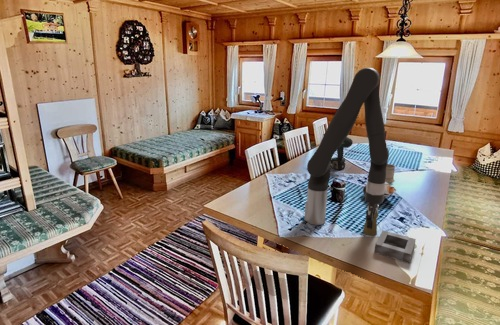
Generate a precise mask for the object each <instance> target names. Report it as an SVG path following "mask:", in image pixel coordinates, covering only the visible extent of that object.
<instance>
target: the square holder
mask: <svg viewBox="0 0 500 325" xmlns="http://www.w3.org/2000/svg"><path fill="white" fill-rule="evenodd" d="M416 239H417V238H412V237H411V236H410V237H409V236H405V235H402V234H399V233H394V232H390V231H386V230H383V229H382V231H381V232H380V234H379V236H378V239H377V241H376V242H375V244H374V245H375V246H374V251H373V252H374V253H375V254H377V255H381V256H384V257H388V258H391V259H394V260H397V261H401V262H404V263H408V264H410V263H411V259H412V256H413V253H414V250H415V245H416Z"/></svg>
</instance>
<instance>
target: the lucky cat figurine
mask: <svg viewBox="0 0 500 325" xmlns="http://www.w3.org/2000/svg"><path fill="white" fill-rule="evenodd" d="M396 192H397V189H396V188H395V186H391V185H390V183H389V182H385V191H384V199H383V201H384V200H385V199H387V198H389V197H390V196H391V195H393V194H395V193H396ZM362 193H363V195H364V196H365V194H366V185H365V186H363V188H362Z"/></svg>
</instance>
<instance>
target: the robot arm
mask: <svg viewBox="0 0 500 325" xmlns="http://www.w3.org/2000/svg"><path fill="white" fill-rule="evenodd" d="M380 81H381V77H380V73H379V71H378V70H376V69H375V68H373V67H363V68H361V69H360V70H358V71H357V73H356V74H355V75H354V78H353V79H352V81H351V82H352V83H351V85H350V87H349V89H348V90H347V94H346V96H345V98H344V100H343V101H342V102H341V104H340V106H339V107H338V108H337V110H336V112H335V113H334V115H333V116H332V119H331V120H330V122H329V124H328V127H326V128H327V129H325V132H324V133H323V134H324V136H323V135H322V139H321V141H320V144H319V145H318V147H317V148H316V150H315V152H314V153H313V155H312V156H311V158H310V159H309V160H308V162H307V165H306V168H307V169H306V170H307V172H308V174H309V179H308V182H307V196H306V201H305V203H304V218H303V219H304V221H305V222H307V223H308V224H310V225H314V226H319V225H324V224H325V223H326V216H327V205H328V204H327V200H328V188H329V183H330V178H331V170H332V168H331V162H330V160H331V158H333V156H334V155H335V153H336V152H337V149H338V148H339V147H340V146H341V144H342V143H343V142H344V140H345V139H346V137H348V136H349V135H350V133H351V131H352V129H353V127H354V126H355V123H356V121H357V120H358V117H359V114H360V112H361V109H362V107H364V123H365V130H366V135H367V136H366V137H367V140H368V149H369V151H368V153H369V157H370V166H369V170H368V175H367V182H366V185H365V186H366V194H365V195H364V200H365V202H367V203H368V204H367V208H366V210H365V222H366V221H367V228H370V229H372V225H373V219H374V217H375V214H376V211H377V212H378V213H379V206H380V204H382V203H383V202H384V200H385V199H384V191H385V179H386V167H387V164H388V161H389V155H390V150H389V149H388V147H387V142H386V129H385V122H384V117H383V113H382V106H381V99H380ZM383 199H384V200H383ZM373 213H374V215H373Z"/></svg>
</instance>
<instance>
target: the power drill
mask: <svg viewBox="0 0 500 325" xmlns="http://www.w3.org/2000/svg"><path fill="white" fill-rule="evenodd" d="M324 134H325V133H323V135H322V137H323V136H324ZM351 146H353V139H351V138H350V137H348V136H347V137H346V139H345V140H344V142H343V143H342V144H341V146H340V147H339V148H338V149H337V150H336V152H337V156H334V157H332V158H331V160H330V162H331V169H334V170H338V171H339V170H344V169H345V168H346V159H345V158H343V157H344V152H345V151H344V148H345V149H348V148H349V149H350V147H351Z"/></svg>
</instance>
